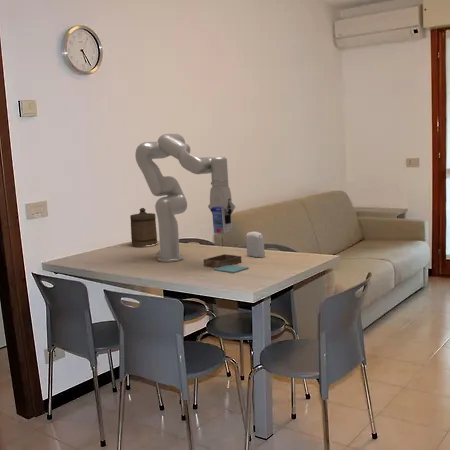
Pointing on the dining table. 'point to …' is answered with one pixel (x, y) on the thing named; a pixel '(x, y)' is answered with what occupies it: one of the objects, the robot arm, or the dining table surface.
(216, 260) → the walnut frame
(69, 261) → the dining table surface
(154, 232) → the wooden container
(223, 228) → the ink cartridge box
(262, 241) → the photo printer
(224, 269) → the teal mat
